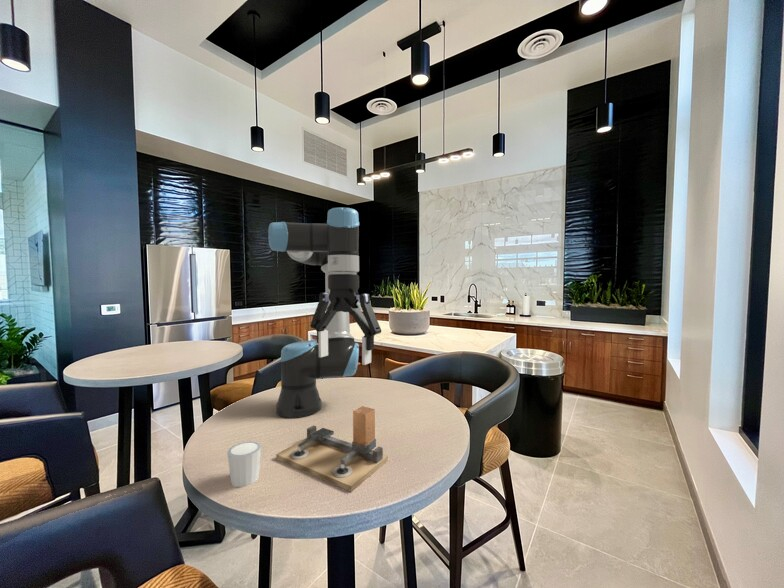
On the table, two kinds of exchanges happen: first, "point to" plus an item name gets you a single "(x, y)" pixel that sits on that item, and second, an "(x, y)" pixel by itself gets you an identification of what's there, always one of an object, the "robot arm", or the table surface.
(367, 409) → the block
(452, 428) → the table surface
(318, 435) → the fixed leg
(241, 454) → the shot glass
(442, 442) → the table surface
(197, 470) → the table surface
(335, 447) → the bolt plate
